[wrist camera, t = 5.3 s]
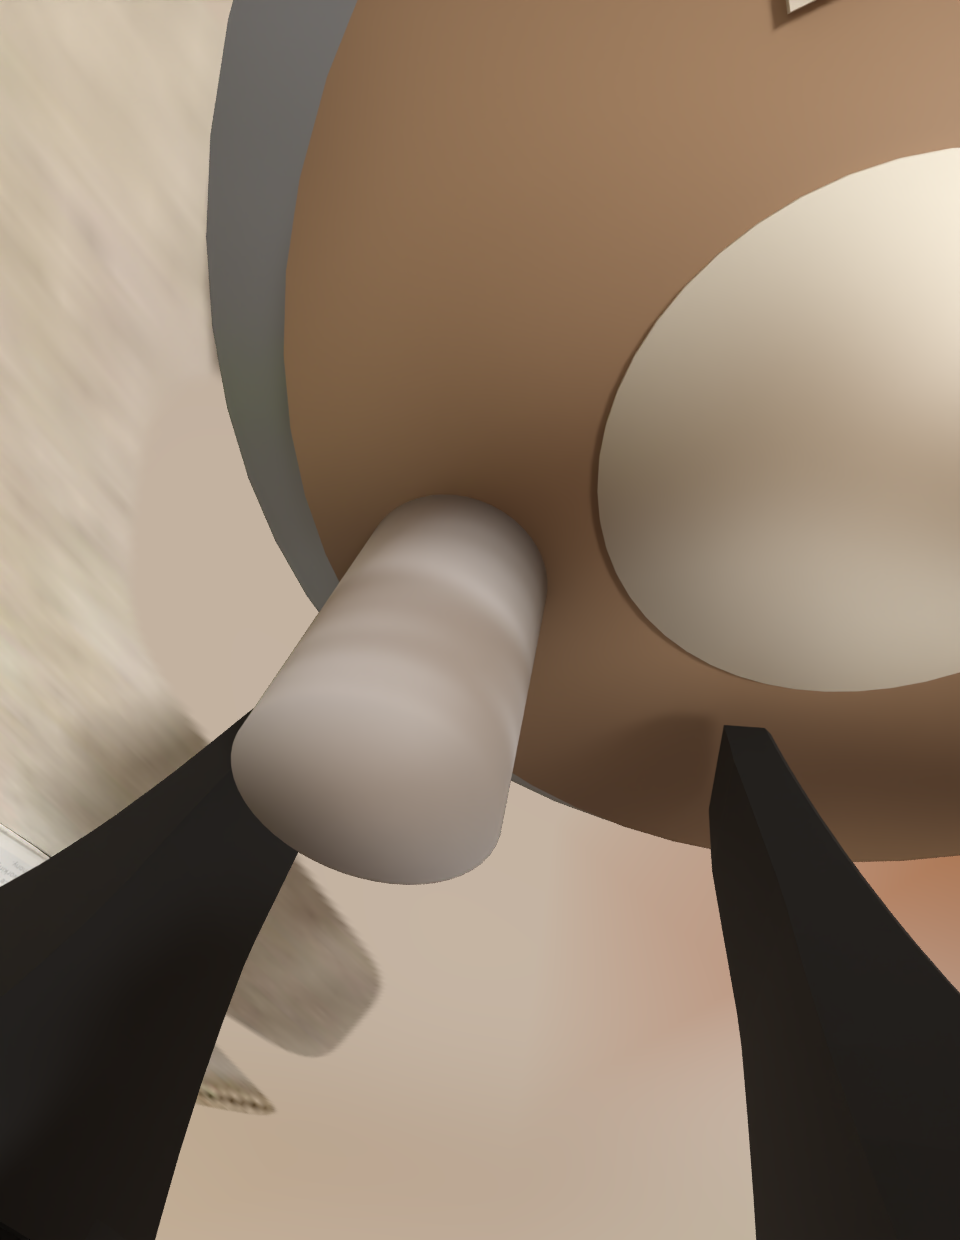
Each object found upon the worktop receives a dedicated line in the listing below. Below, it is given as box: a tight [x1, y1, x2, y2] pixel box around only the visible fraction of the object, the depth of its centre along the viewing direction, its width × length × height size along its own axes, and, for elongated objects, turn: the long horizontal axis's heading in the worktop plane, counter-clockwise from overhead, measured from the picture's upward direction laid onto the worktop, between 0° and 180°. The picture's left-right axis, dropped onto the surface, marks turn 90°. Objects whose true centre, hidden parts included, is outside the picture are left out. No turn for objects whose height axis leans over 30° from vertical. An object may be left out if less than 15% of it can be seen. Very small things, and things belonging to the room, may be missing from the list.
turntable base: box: [206, 0, 609, 821], centre depth 10 cm, size 20×20×2 cm
